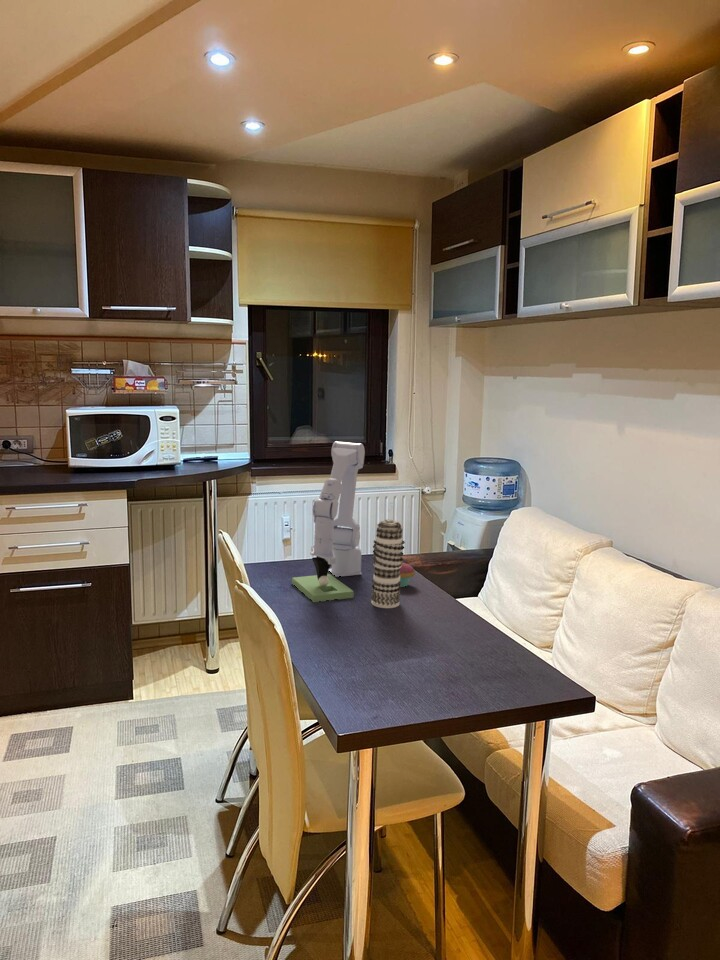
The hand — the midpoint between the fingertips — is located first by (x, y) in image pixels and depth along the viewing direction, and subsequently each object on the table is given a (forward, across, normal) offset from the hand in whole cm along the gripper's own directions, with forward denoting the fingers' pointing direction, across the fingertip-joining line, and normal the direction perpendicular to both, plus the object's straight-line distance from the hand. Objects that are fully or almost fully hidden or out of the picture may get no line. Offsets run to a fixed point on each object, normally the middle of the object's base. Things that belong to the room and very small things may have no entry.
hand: (321, 580), depth 222 cm
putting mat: (+3, 0, 0) cm, 3 cm away
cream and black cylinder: (+3, +16, +14) cm, 22 cm away
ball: (-2, +2, 0) cm, 3 cm away
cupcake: (+3, +2, +27) cm, 27 cm away
